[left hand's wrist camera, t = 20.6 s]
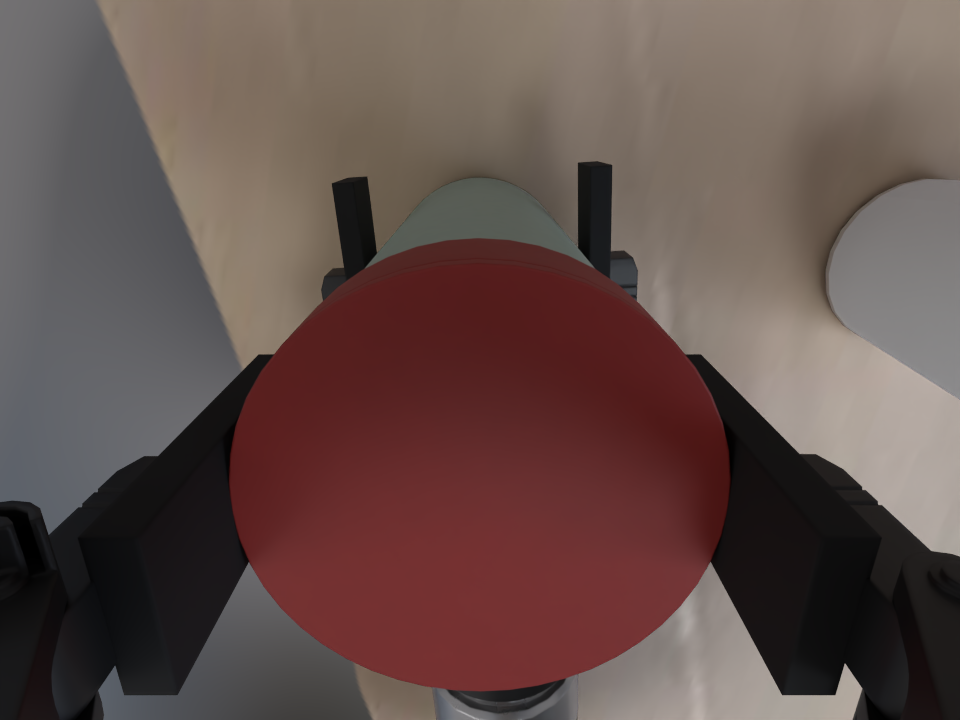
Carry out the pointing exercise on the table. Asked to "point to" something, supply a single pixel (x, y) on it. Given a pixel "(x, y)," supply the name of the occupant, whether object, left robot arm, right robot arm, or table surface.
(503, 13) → the table surface
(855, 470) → the table surface
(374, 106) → the table surface
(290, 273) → the table surface
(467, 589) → the lid
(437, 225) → the jar
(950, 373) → the mug
